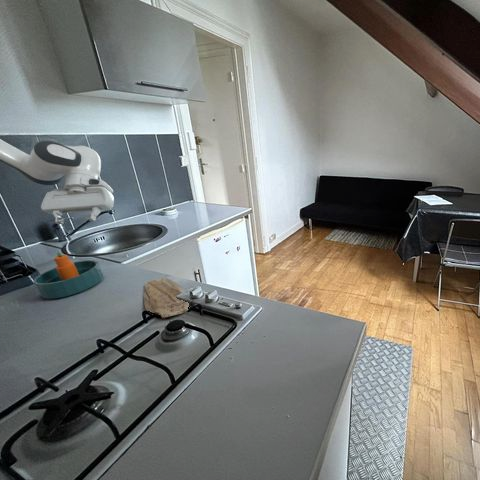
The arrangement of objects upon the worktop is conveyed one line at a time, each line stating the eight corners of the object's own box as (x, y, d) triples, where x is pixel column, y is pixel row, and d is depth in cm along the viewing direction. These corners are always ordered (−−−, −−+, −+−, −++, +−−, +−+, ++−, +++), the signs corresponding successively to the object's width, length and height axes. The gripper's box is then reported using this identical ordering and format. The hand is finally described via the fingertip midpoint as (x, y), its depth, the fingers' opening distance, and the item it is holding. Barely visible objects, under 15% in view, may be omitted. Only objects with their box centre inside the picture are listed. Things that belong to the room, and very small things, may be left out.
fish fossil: (131, 289, 80) (130, 286, 79) (167, 277, 87) (166, 274, 86) (162, 323, 63) (160, 319, 63) (203, 305, 70) (202, 301, 70)
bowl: (52, 305, 74) (43, 289, 72) (34, 292, 82) (26, 277, 79) (112, 280, 86) (106, 265, 84) (92, 270, 93) (86, 257, 91)
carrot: (68, 289, 81) (51, 256, 77) (63, 286, 83) (46, 254, 79) (84, 282, 84) (69, 250, 80) (79, 279, 86) (64, 248, 82)
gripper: (40, 184, 88) (31, 220, 83) (107, 180, 92) (103, 214, 87) (54, 194, 94) (47, 229, 89) (118, 190, 98) (114, 222, 93)
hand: (75, 221), depth 88 cm, fingers open, 8 cm apart
